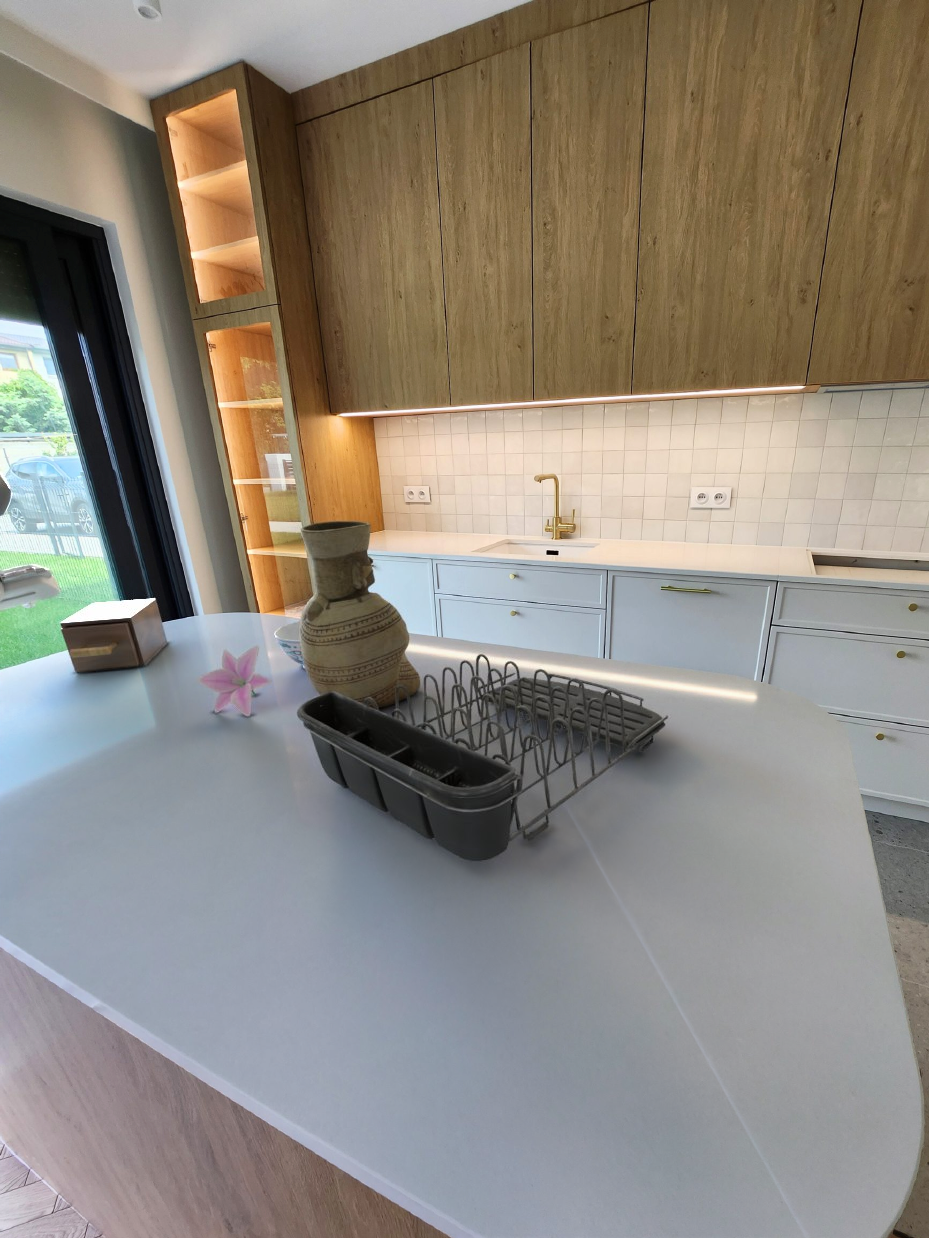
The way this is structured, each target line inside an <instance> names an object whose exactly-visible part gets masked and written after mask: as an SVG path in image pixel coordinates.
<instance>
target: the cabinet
mask: <svg viewBox="0 0 929 1238" xmlns="http://www.w3.org/2000/svg"><path fill="white" fill-rule="evenodd" d="M124 621H128V625H129V628H130V631H131V635H132V638H133V642H134V645H135V648H136V652H137V655H138V658H139V663H140V664H139V665H137V666H126V667H116V668H105V669H95V670H85V671H76V674H78V673H79V674H81V673H92V672H100V671H111V670H121V669H131V668H132V669H133V668H141V667H146V666H147V665H148V664H149V663H150V662H151V661H152V660H153V659H154V658H155V657H156V656H157V655H158V654H159V653H160V652H161V651H162V649H164V648H165V647H166V646H167V645H168V639H167V636H166V631H165V629H164V628H165V627H164V625H163V621H162V617H161V613H160V610H159V606H158V603H157V598H146V599H133V600H132V599H131V600H121V601H120V600H119V601H106V602H94V603H93V602H92V603H91V604H89V605H88V606H86V607H84V608H83V609H81V610H79V611H78V612H76V613H74V614H73V615H71V616H69V617H67V618H66V619H64V620H62V621H61V622H59V625H60V627H61V629H63V628H67V627H71V626H76V625H88V624H100V623H112V622H124Z"/></svg>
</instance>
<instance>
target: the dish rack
mask: <svg viewBox="0 0 929 1238" xmlns="http://www.w3.org/2000/svg"><path fill="white" fill-rule="evenodd" d="M481 657H482V658H483V659H484V660H485V662H486V665H487V679H486V680H487V681H486V683H485V681H484V680H483V679H482V678H481V676H480V673H479V672H480V670H479V669H480V668H479V667H480V666H479V665H480V659H481ZM464 664H467V665H468V667H470V671H471V676H472V677H471V678H470V682H469V684H470V685H469V699H468V695H467V691H466V689H465V688H464V686H463V665H464ZM508 665H512V666H513V667H514V668H515V670H516V672H512V673H509V674H507V668H508ZM503 669H504V670H503V675H502V673H501V671H499V669H497V668H495V667H491V663H490V660H489V657H487V655H485V654H483V653H480V654H477V655H476V659H475V670H474V666H473V664H472V663H471V662H470V661H469V660H466V659H463V660H462V661H460V663H459V683H458V678H457V674H456V672H455V670H454V669H453V668H451V666H445V667H444V668H443V669H442V676H441V680H442V681H441V695H440V689H439V685H438V681H437V679H436V678H435V676H433V675H432V674H429V673H428V674H425V675H424V676H423V702H422V705H423V706H422V710H423V712H422V722H421V723H420V724H417V725H416V722H415V715H414V711H413V705H412V701H411V696H410V695H409V692H408V691H407V689H406V688H405V687H404V686H402V685H399V686H397V687H396V703H395V708H394V709H392V711H391V715H390V714H388V713H386V712H383V711H382V710H379V709H380V708H378V706H377V704H376V702H375V700H373V699H372V698H370V697H367V698H366V699H365V701H364V704H362V703H359V702H357V701H355V700H353V699H351V698H348V697H346V696H344V695H342V694H339V693H337V692H335V691H333V692H327V693H324V694H322V695H319V694H318V695H315V696H314V697H312V698H309V699H307V700H306V701H304V702H302V704H301V705H299V707H298V708H297V710H296V715H297V717H298V719H299V720H300V721H302V725H303V727H304V729H306V730H307V731H309V733H310V736H311V740H312V742H313V745H314V748H315V751H316V754H317V757H318V760H319V762H320V765H321V767H322V769H323V770H324V774H325V775H326V776H327V777H328V778H329V779H330V780H332V781H333V782H334V783H336V784H337V785H339V786H341V787H342V788H344V789H349V790H350V791H351V793H352V794H354V795H355V796H357V797H358V798H361V799H363V800H364V801H365V802H367V803H369V804H371V805H372V806H373V807H375V808H377V809H379V810H380V811H381V812H383V813H389V814H390V815H391V817H392V818H394V819H395V820H396V821H398V822H400V823H402V824H403V825H405V826H406V827H408V828H410V829H411V830H413V831H415V832H416V833H418V834H420V835H421V836H423V837H424V838H426V839H427V840H435V842H436V843H437V845H438V846H440V847H441V848H442V849H444V850H446V851H448V852H450V853H451V854H453V855H455V856H456V857H459V858H461V859H463V860H466V861H470V862H483V861H489V860H491V859H493V858H496V857H498V856H500V855H501V854H503V853H504V852H505V851H506V850H507V849H508V846H509V843H510V842H511V841H513V840H514V839H515V838H516V837H518V836H519V835H521V834H522V838H523V839H524V840H525V841H528V842H529V841H531V840H533V839H534V838H535V837H537V836H538V835H539V834H541V833H542V832H544V831H545V830H547V828H549V823H550V818H549V814H551V813H552V812H553V811H555V810H556V809H557V808H559V807H561V805H563V804H564V803H565V802H567V801H568V800H569V799H570V798H573V797H574V796H575V795H576V794H577V793H579V792H580V791H582V790H583V789H584V788H586V787H587V786H588V785H589V784H591V783H593V781H595V780H596V779H598V778H599V777H601V775H603V774H604V773H605V772H607V771H608V770H609V769H611V768H612V767H614V766H615V765H616V764H617V763H618V762H619V761H621V760H623V759H624V758H625V757H626V756H627V755H629V754H630V753H631V752H634V750H636V749H638V752H640V753H643V752H644V751H645V750H647V749H648V748H649V747H650V746H651V745H652V744H654V735H655V734H658V733H659V732H660V731H661V730H662V729H663V728H665V727H666V723H665V721H666V720H667V719H669V715H668V714H666V715H665V716H664V717H662V716H661V715H660V714H659V713H658V712H656V711H653V710H651V709H650V708H649V709H648V708H646V707H644V706H643V702H644V701H645V699H644V698H643V697H642V696H638V695H635V694H632V693H629V692H626V691H623V690H619V689H617V688H614V687H611V686H608V685H603V684H599V683H595V682H592V681H588V680H583V679H579V678H577V677H570V676H565V675H561V674H556V673H548V672H547V671H546V670H545V669H542V668H538V669H536V670H535V671H534V674H533V677H527V676H521V674H520V669H519V667H518V665H517V663H515V661H512V660H508V661H506V662H505V663H504V667H503ZM446 671H450V672H451V674H452V676H453V681H454V684H453V685H452V687H451V697H450V699H451V701H450V709H449V710H447V711H445V707H446V705H445V704H446V702H445V701H446V699H445V695H446V687H445V683H446V679H445V678H446ZM492 672H495V673H496V674H497V675H498V676H499V678H497V679H495V680H493V675H492ZM539 673H543V674H544V675H545V677H546V679H540V678H537V676H538V674H539ZM515 675H516V679H512V680H510V681H509V682H507V679H508V678H512V677H513V676H515ZM427 678H430V679H431V680H432V681H433V683H434V688H435V691H436V697H437V700H436V699H435V697H434V696H431V695H427ZM552 678H558V679H562V680H567V683H563V682H559V681H552V680H551V679H552ZM479 682H480V683H481V685H480V686H479ZM499 682H500V686H498V687H494V684H497V683H499ZM571 683H575V684H578V686H577V685H574V684H571ZM585 685H589V686H593V687H597V688H600V689H603V690H605V692H601V691H598V690H593V689H590V688H586V687H585ZM490 687H491V690H490ZM399 688H402V689H403V690H404V691H405V693H406V695H407V703H408V710H409V715H410V719H411V723H410V722H408V721H407V717H406V715H405V714H404V712H403V711H402V710H400V706H399V705H400V704H399V702H398V689H399ZM473 690H474V693H473ZM482 692H483V693H482ZM612 693H613V694H614V695H615V696H613V695H612ZM455 694H456V698H457V704H458V706H456V707H455ZM473 694H474V695H475V698H474V699H473V697H474V696H473ZM462 695H463V696H462ZM622 695H623V696H626V697H629V698H631V699H632V698H633V699H635V700H639V704H637V703H634V702H631V701H627V700H626V699H623V696H622ZM616 696H617V697H616ZM463 697H464V703H463V704H462V698H463ZM428 700H430V701H431V702H433V704H434V708H435V712H436V716H434V717H432V718H430V719H428V718H427V716H428V715H427V711H428V710H427V702H428ZM468 700H469V701H468ZM367 701H370V702H372V704H373V706H374V708H375V709H374V708H371V707H369V706H367ZM474 703H476V707H477V713H478V716H479V721H477V722H474V723H472V711H473V709H472V707H473V705H474ZM489 703H490V704H493V705H494V708H495V713H493V714H491V715H490V710H489V709H490V708H489ZM464 708H465V710H464ZM484 710H485V716H484ZM508 710H511V711H514V717H513V727H512V726H511V725H510V722H509V715H508ZM457 712H459V715H460V721H461V725H462V726H463V727H464V728H462V729H460V730H458V731H456V715H457ZM503 712H504V717H505V724H506V727H507V728H508V729H509V730H507V731H506V732H505V730H504V728H503V726H502V723H501V722H502V713H503ZM449 714H450V729H449V733H448V732H447V728H446V724H445V723H446V722H445V716H447V715H449ZM520 714H522V719H523V720H524V721H525V722H522V723H521V719H520ZM527 716H529V718H527ZM400 717H401V718H402V719H400ZM493 717H496V720H491V718H493ZM464 718H465V719H464ZM465 720H466V723H465ZM486 720H487V723H486V726H485V737H484V738H485V739H484V743H483V741H482V740H483V729H484V728H483V726H484V725H483V723H484V722H485V721H486ZM539 720H541V721H545V722H547V726H546V734H545V738H543V737H542V736H541V731H540V723H539ZM434 721H437V726H438V731H439V735H438V732H437V730H436V728H435V727H434V725H432V723H433V722H434ZM528 723H530V734H527V735H525V736H524V738H523V735H522V733H523V732H522V727H523V726H525V725H526V724H528ZM477 725H479V736H478V746H477V745H476V744H475V739H474V733H473V727H475V726H477ZM492 725H494V726H495V727H497V732H496V736H494V734H493V730H492ZM535 725H536V726H535ZM557 726H560V727H561V728H560V729H559V728H558V727H557ZM535 727H536V730H535ZM427 728H429V729H430V730H431V731H428V730H427ZM517 729H518V730H517ZM466 730H467V733H468V740H466V739H465V738H464V737H456V735H458V734H461V733H462V732H464V731H466ZM566 730H567V735H566V742H565V748H564V756H563V761H562V762H560V761H559V760H558V757H557V745H556V737H555V736H557V735H559V734H560V733H562V732H564V731H566ZM517 731H518V738H519V744H520V748H521V753H519V754H517V755H515V745H516V733H517ZM555 731H556V732H555ZM573 731H574V732H576V733H577V732H578V733H580V734H582V736H581V743H580V748H579V751H576V749H575V747H574V738H573ZM510 733H512V738H511V746H510V757H509V753H508V747H507V739H506V735H508V734H510ZM536 733H537V736H536ZM444 735H445V736H446V737H444ZM489 736H490V738H491V739H490V740H489ZM450 738H451V740H448V739H450ZM593 739H595V740H594V741H593ZM497 740H499V744H500V750H501V753H499V752H498V753H494V754H493V755H492V757H489V756H488V751H489V750H488V749H489V745H490V744H491V743H493V742H495V741H497ZM528 740H529V742H528ZM548 740H549V743H548V751H547V761H546V758H545V749H544V748H545V747H544V745H543V743H545V742H547V741H548ZM585 740H587V741H588V746H587V747H585V746H584V745H585ZM601 741H603V742H605V748H606V755H607V765H605V766H604V767H603V768H601V769H600V770H599V771H597V772H595V770H596V768H595V767H596V766H595V757H594V748H593V747H594V746H596V744H598V743H599V742H601ZM646 741H647V743H645V742H646ZM459 743H461V744H463V745H465V746H466V747H465V746H462V745H460V744H459ZM482 743H483V744H482ZM527 743H528V748H527ZM643 744H644V745H643ZM611 745H614V746H616V747H619V748H622V752H623V753H622V754H621V755H619V756H617V757H616V758H615V759H613V760H612V756H611ZM537 747H539V753H540V760H541V761H540V762H541V768H542V772H541V771H540V764H539V756H538V749H537ZM584 747H585V748H584ZM482 748H484V754H482V753H480V752H477V751H479V750H480V749H482ZM532 750H533V757H534V763H535V771H536V773H537V775H538V776H539V777H540V778H538V779H536V780H535V781H534V782H532V783H531V784H529V785H527V786H526V787H525V788H523V782H524V780H523V779H524V772H525V761H526V754H527V753H528V752H531V751H532ZM586 751H589V759H590V769H591V777H590V778H588V779H587V780H585V781H584V782H582V783H581V784H579V785H578V776H577V767H576V759H575V758H577V757H579V756H580V755H581V754H583V753H585V752H586ZM552 752H553V760H554V762H555V764H556V765H558V766H556V767H555V768H553V769H552V770H550V767H551V759H552ZM568 752H570V753H569V754H570V758H568ZM514 755H515V756H514ZM518 758H521V759H520V769H519V770H520V771H519V773H517V772H516V768H515V767H514V766H512V764H511V763H512V762H513V761H515V760H517V759H518ZM498 759H500V760H502V761H504V762H502V761H499V760H498ZM569 762H570V763H571V772H572V773H571V774H572V781H573V785H574V786H573V787H574V789H573V790H572V791H570V792H569V793H568V794H566V795H565V796H563V797H562V798H561V799H560V800H558V801H557V802H556V803H554V804H553V805H552V803H551V795H550V794H551V793H550V787H549V780H548V776H550V775H552V774H553V773H555V772H556V771H557V770H559V769H561V768H562V767H564V766H565V765H567V764H568V763H569ZM516 773H517V774H516ZM542 781H543V787H544V794H545V801H546V807H547V808H545V809H544V810H543V812H541V813H540V814H538V815H537V816H536V817H534V818H533V819H531V820H530V821H528V822H527V823H526V824H524V825H522V826H521V822H520V817H519V809H518V801H519V796H521V795H522V794H524V793H525V792H526V791H528V790H529V789H531V788H532V787H534V786H535V785H537V784H538V783H540V782H542ZM515 782H516V785H515ZM513 818H515V825H516V830H515V831H514V832H513V833H512V834H510V833H511V827H512V822H513ZM543 818H545V821H543V822H542V823H541V824H540V825H538V826H537V827H535V828H534V829H533V830H531V831H529V832H528V833H526V831H527V830H528V829H529V828H530V827H532V826H533V825H535V824H536V823H538V822H539V821H541V820H542V819H543Z"/></svg>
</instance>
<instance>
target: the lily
mask: <svg viewBox="0 0 929 1238" xmlns="http://www.w3.org/2000/svg"><path fill="white" fill-rule="evenodd" d="M259 651H260V646H259V645H255V646H253V647H251V648H250V649H247V650H246V651H245V652H244V653H242V654H241V655H240V656H239V657H238V658H236V657H235V656H234V655H233V654H232V653H231V652H229V650H227V649H224V650H223V651H222V656H221V668H218V669H214V670H212V671H209V672H207V673H204V674H202V675H201V676H199V677H198V678H197V683H199V684H200V685H201V686H203V687H205V688H207V689H209V690H211V691H213V692H217V693H218V694H217V696H216V701H215V703H214V704H215V705H214V713H215V714H216V713H219V712H220V711H222V710H223V709H225V708H226V707H228V706H229V705H231V704H232V705H233V707H235V708H236V709H237V710H238V711H239V712H240V713H241V714H242V715H244V716H246V717H250V715H251V713H252V712H251V711H252V695H253V696H254V697H256V696H257V694H256V693H255V691H256V690H258V689H260V688H264V687H265V686H267V685H270V684H271V683H272V680H271V679H269V678H268V677H266V676H264V675H262V674H260V673H257V672H255V669H256V664H257V660H258V656H259Z"/></svg>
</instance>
